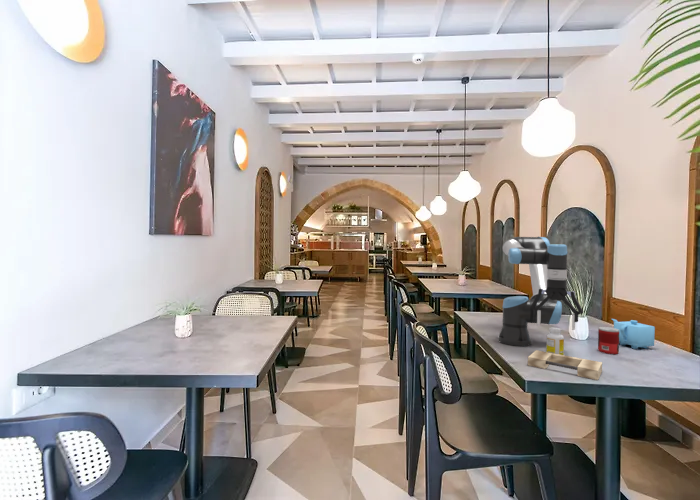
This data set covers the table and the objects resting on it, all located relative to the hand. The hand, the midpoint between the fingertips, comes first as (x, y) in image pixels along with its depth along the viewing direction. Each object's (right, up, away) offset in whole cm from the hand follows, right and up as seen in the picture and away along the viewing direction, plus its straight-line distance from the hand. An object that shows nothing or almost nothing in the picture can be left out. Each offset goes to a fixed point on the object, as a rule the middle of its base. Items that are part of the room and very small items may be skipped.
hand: (555, 327), depth 160 cm
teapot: (+50, -14, +24) cm, 57 cm away
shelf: (-4, -14, -14) cm, 20 cm away
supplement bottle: (0, -14, 0) cm, 14 cm away
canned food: (+30, -14, +10) cm, 35 cm away
